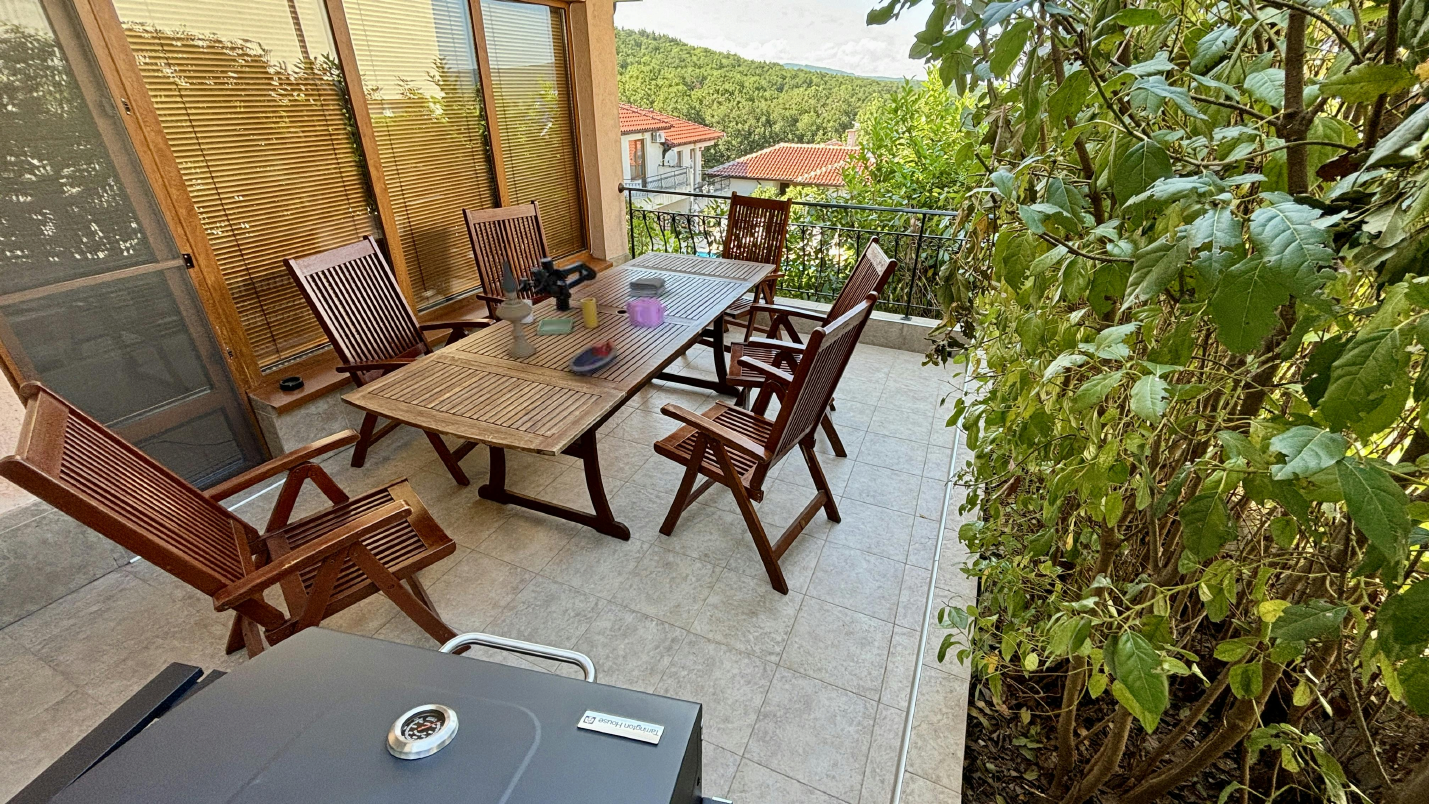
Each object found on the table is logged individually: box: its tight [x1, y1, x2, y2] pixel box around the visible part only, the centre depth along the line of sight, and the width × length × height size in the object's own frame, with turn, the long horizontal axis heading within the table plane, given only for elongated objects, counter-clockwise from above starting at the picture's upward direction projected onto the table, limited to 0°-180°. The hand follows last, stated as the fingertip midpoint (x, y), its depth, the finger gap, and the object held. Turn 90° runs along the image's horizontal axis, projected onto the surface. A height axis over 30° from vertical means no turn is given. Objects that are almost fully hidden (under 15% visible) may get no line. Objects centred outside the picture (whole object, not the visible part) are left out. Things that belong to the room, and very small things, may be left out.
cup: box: [580, 297, 599, 329], centre depth 288 cm, size 7×7×13 cm
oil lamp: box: [495, 260, 536, 358], centre depth 253 cm, size 15×15×40 cm
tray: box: [536, 317, 574, 336], centre depth 288 cm, size 15×15×2 cm
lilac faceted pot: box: [625, 297, 668, 328], centre depth 291 cm, size 17×17×12 cm
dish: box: [568, 340, 618, 376], centre depth 248 cm, size 16×31×5 cm, turn 160°
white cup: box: [521, 299, 535, 324], centre depth 297 cm, size 8×8×10 cm
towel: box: [628, 277, 667, 298], centre depth 336 cm, size 15×18×8 cm
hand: (525, 292), depth 287 cm, fingers open, 9 cm apart
